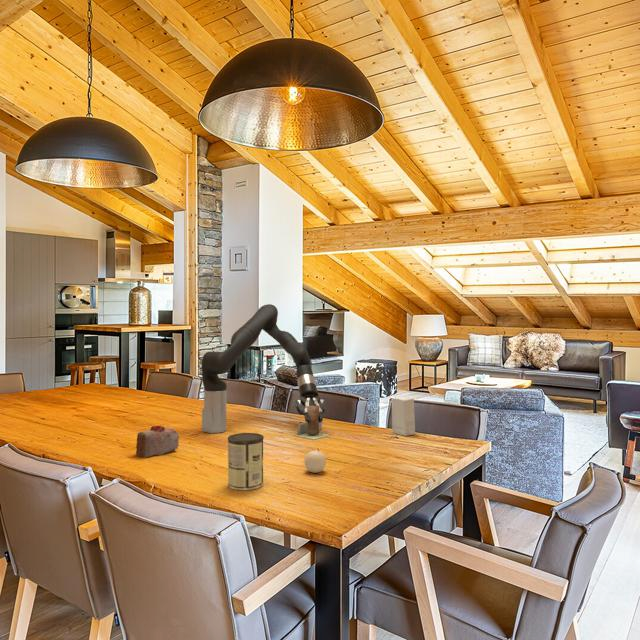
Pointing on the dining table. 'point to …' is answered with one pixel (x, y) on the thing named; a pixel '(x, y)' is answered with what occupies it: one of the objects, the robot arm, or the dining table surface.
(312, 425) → the pin
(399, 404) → the skincare box
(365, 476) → the dining table surface
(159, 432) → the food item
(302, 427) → the wall
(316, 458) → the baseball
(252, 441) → the coffee can
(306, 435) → the mat
